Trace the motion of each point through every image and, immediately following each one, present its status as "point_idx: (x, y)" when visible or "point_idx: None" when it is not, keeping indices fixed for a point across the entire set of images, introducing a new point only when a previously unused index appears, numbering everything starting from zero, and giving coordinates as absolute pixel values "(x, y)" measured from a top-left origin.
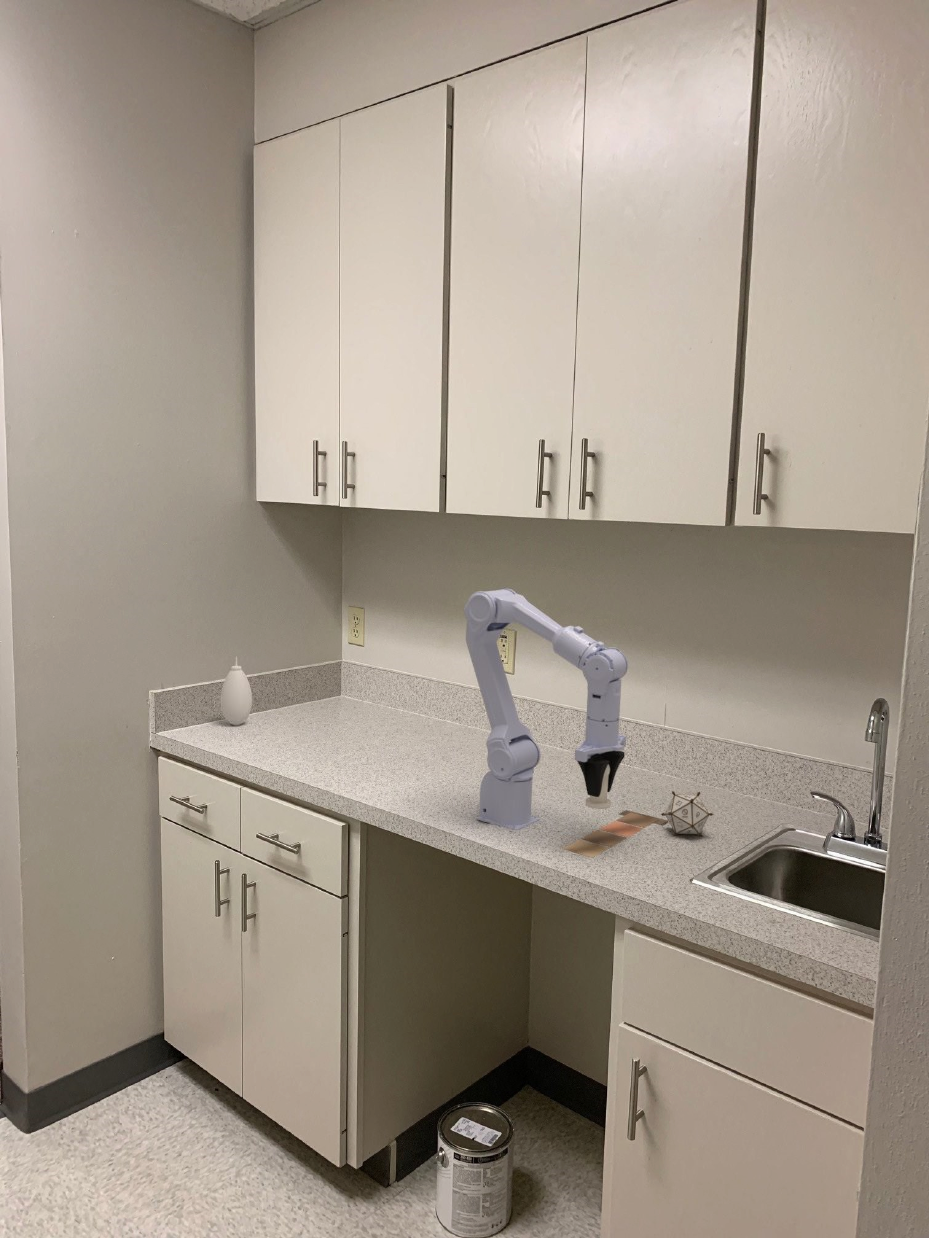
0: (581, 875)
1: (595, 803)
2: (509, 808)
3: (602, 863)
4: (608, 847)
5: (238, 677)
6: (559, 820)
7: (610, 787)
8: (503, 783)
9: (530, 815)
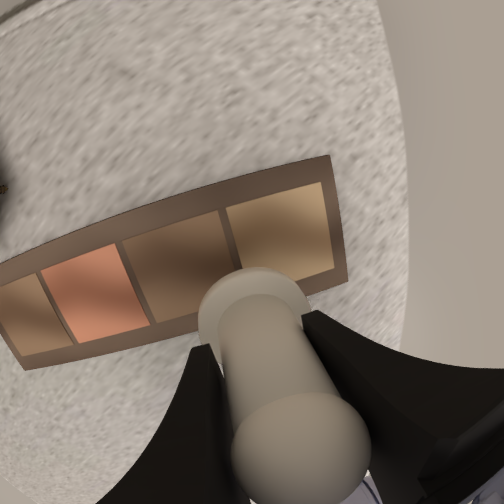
0: (399, 133)
1: (299, 304)
2: None
3: (314, 147)
4: (226, 210)
5: None
6: None
7: (200, 356)
8: None
9: None
